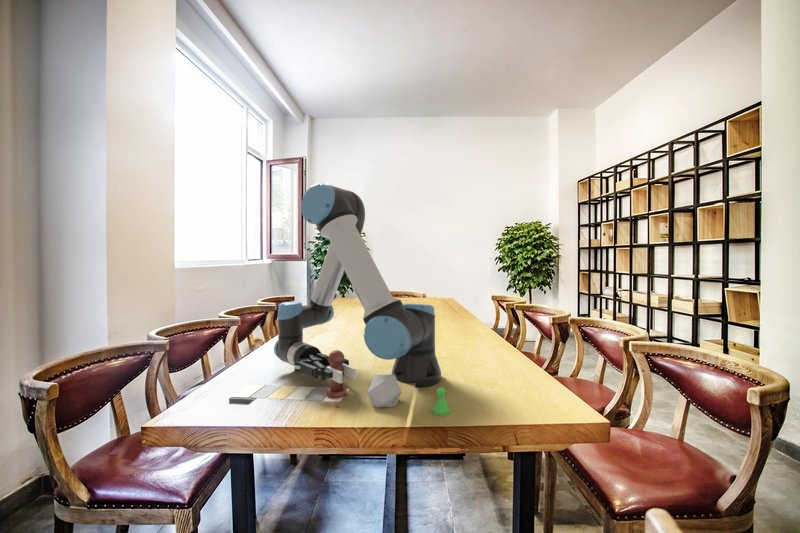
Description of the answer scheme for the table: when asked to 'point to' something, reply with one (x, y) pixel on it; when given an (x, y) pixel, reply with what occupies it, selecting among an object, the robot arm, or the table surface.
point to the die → (384, 391)
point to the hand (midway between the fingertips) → (347, 375)
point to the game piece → (441, 403)
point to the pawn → (337, 363)
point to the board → (281, 393)
